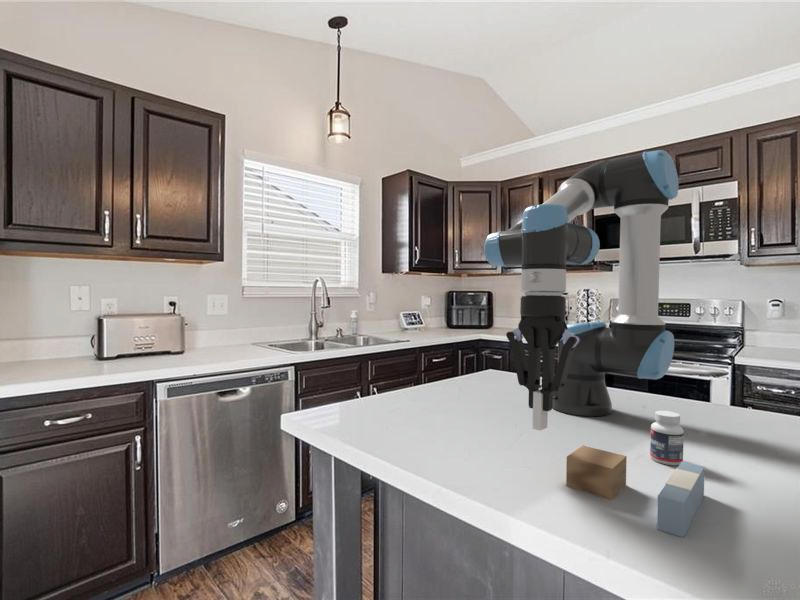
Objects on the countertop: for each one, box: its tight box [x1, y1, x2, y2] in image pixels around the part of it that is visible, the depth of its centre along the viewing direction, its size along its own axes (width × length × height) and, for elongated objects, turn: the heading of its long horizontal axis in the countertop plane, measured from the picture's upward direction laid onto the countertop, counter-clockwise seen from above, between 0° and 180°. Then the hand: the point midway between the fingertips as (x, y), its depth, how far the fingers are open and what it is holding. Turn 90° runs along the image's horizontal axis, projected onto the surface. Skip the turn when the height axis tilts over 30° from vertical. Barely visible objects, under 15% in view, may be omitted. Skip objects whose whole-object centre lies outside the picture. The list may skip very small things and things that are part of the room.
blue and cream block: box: [656, 460, 705, 538], centre depth 64 cm, size 3×16×5 cm, turn 138°
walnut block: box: [565, 445, 628, 501], centre depth 72 cm, size 7×7×5 cm
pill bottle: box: [649, 410, 685, 466], centre depth 82 cm, size 5×5×9 cm
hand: (539, 427), depth 78 cm, fingers closed
